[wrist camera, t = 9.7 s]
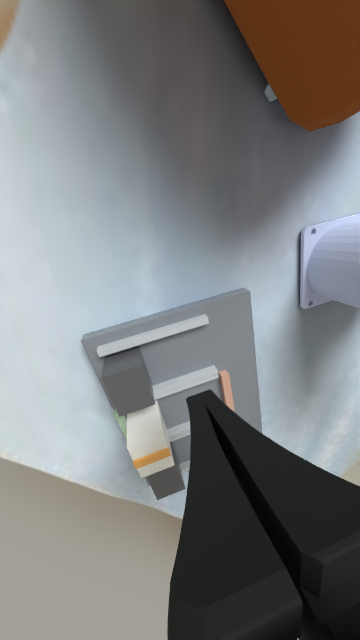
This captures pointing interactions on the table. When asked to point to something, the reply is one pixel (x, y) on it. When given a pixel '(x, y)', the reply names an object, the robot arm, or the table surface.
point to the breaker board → (180, 369)
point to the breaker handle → (148, 441)
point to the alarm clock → (306, 55)
